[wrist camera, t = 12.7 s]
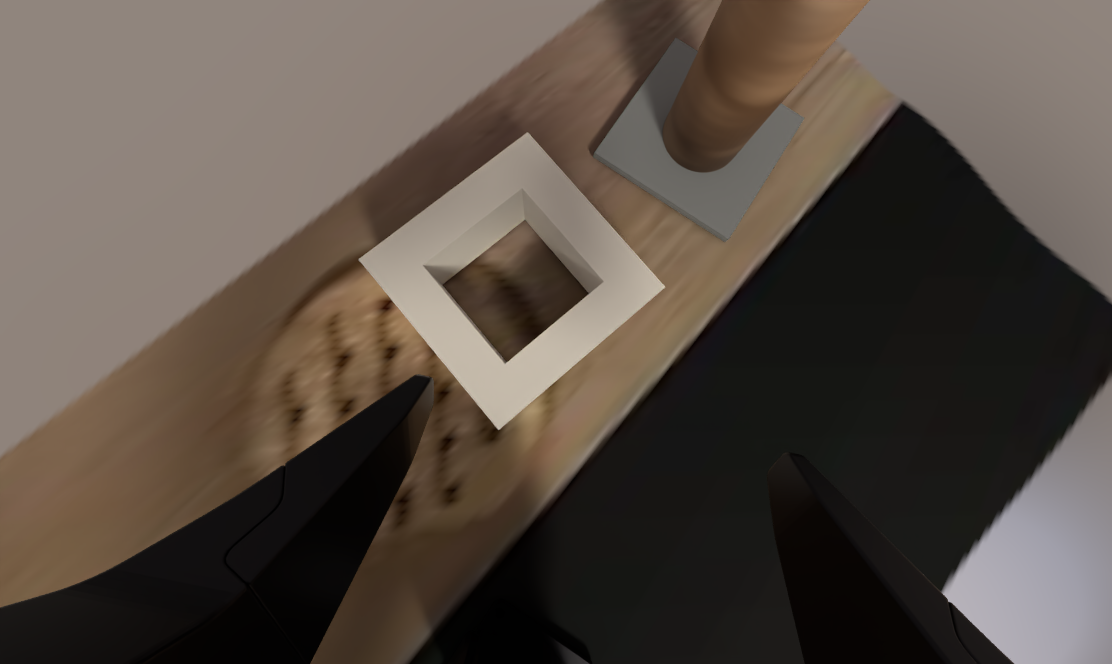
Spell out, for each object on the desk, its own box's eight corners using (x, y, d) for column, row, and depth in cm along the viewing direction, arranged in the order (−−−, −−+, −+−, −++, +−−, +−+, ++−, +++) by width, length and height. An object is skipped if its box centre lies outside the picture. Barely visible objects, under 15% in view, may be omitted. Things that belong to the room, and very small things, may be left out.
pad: (799, 123, 26) (804, 118, 26) (725, 241, 25) (728, 239, 24) (673, 44, 26) (675, 37, 26) (593, 157, 25) (594, 152, 25)
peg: (753, 127, 25) (975, -138, 12) (714, 187, 25) (903, -25, 12) (688, 86, 25) (839, -218, 12) (647, 144, 25) (762, -111, 12)
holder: (644, 302, 24) (665, 287, 20) (505, 421, 23) (498, 430, 19) (529, 172, 25) (527, 131, 21) (388, 279, 23) (358, 259, 19)
